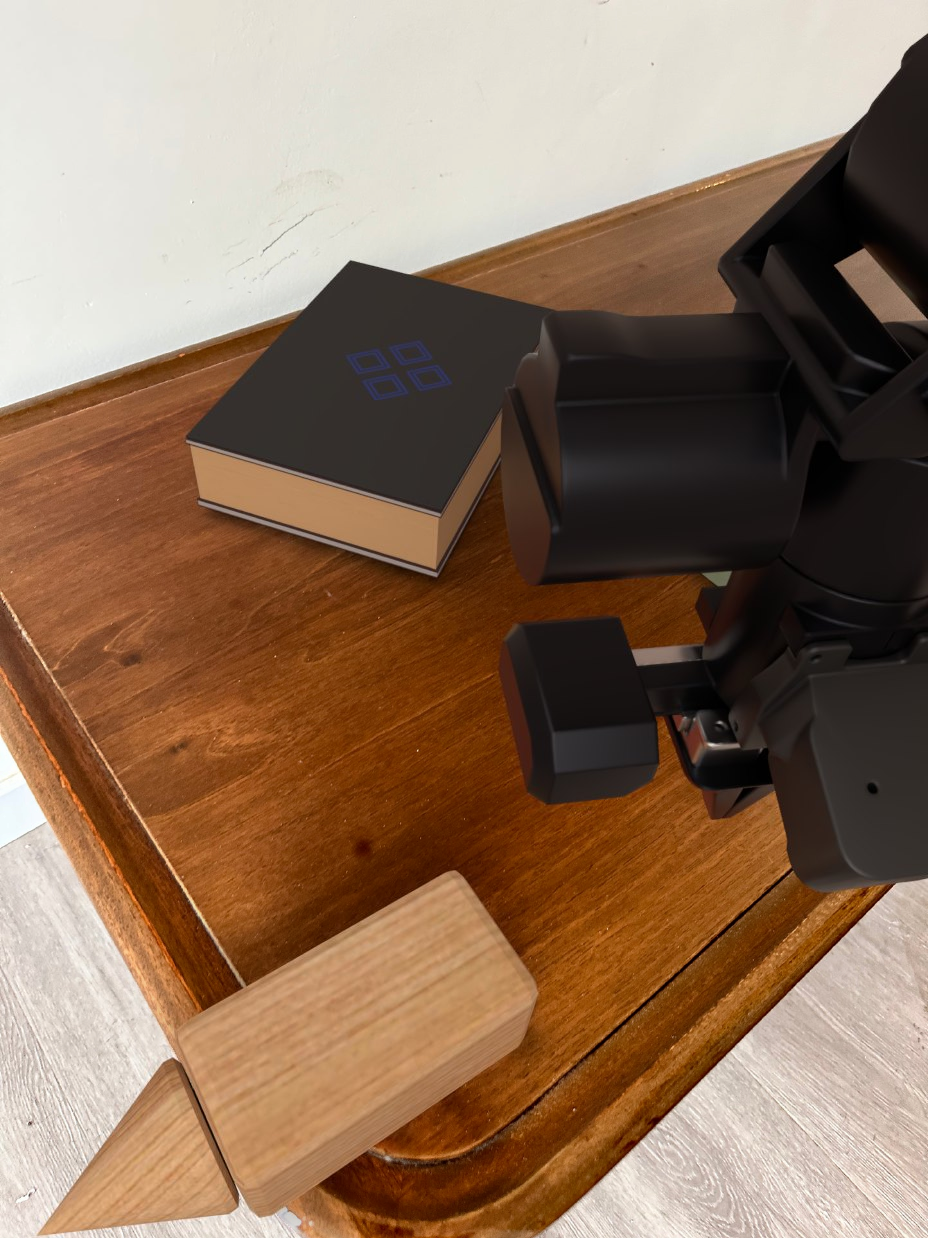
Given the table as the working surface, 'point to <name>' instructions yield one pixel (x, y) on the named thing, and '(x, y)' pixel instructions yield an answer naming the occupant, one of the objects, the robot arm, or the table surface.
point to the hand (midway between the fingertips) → (715, 809)
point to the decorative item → (312, 1065)
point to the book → (370, 417)
